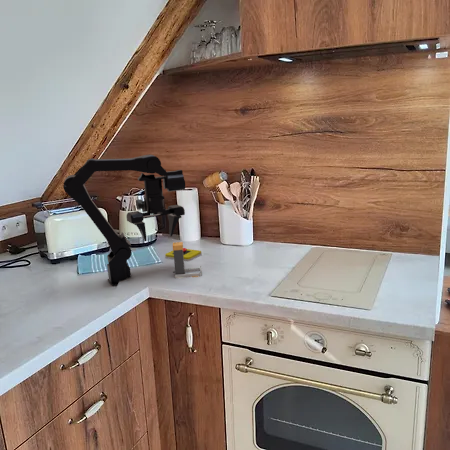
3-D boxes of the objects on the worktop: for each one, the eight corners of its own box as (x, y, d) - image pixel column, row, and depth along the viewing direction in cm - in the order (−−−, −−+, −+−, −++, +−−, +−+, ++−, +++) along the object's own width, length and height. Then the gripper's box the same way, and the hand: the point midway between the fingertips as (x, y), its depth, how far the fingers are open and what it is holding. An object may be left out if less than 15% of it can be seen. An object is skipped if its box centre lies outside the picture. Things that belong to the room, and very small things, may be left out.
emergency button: (175, 244, 182) (207, 248, 175) (176, 254, 184) (207, 259, 176) (160, 250, 175) (192, 255, 167) (161, 262, 176) (193, 267, 168)
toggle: (175, 277, 154) (172, 245, 151) (175, 273, 157) (173, 242, 155) (185, 276, 154) (182, 245, 151) (185, 272, 158) (182, 241, 155)
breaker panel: (171, 282, 152) (170, 273, 152) (172, 275, 159) (171, 267, 158) (202, 280, 153) (202, 271, 152) (202, 273, 160) (201, 264, 159)
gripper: (170, 186, 164) (174, 229, 168) (119, 193, 156) (124, 238, 160) (183, 190, 155) (187, 235, 159) (129, 198, 146) (134, 245, 150)
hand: (158, 238), depth 157 cm, fingers open, 9 cm apart
